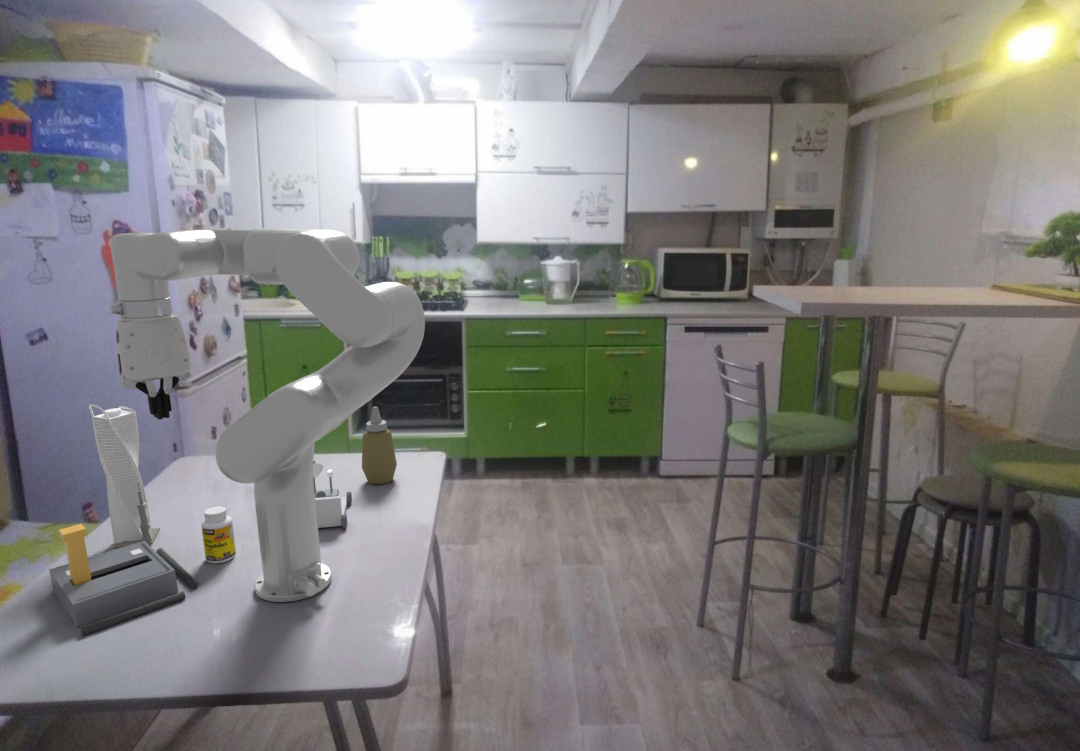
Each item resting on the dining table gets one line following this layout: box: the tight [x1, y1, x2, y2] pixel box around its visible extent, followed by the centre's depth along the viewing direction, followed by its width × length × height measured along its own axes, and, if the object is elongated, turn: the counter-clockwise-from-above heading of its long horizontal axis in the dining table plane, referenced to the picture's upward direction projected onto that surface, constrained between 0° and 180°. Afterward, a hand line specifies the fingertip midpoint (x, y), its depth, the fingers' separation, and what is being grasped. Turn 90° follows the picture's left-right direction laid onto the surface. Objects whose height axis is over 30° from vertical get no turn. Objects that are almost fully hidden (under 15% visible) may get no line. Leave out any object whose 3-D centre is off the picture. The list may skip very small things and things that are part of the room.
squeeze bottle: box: [361, 406, 398, 485], centre depth 171 cm, size 8×8×18 cm
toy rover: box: [313, 460, 353, 530], centre depth 153 cm, size 18×10×12 cm
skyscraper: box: [87, 403, 161, 551], centre depth 141 cm, size 8×8×28 cm
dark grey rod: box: [155, 547, 199, 589], centre depth 131 cm, size 18×1×1 cm, turn 44°
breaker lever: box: [58, 523, 91, 586], centre depth 120 cm, size 3×3×10 cm
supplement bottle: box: [200, 505, 237, 564], centre depth 135 cm, size 5×5×10 cm
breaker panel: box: [48, 541, 179, 628], centre depth 124 cm, size 16×15×4 cm
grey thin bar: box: [79, 591, 186, 636], centre depth 117 cm, size 1×15×1 cm, turn 134°
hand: (161, 416), depth 124 cm, fingers closed
